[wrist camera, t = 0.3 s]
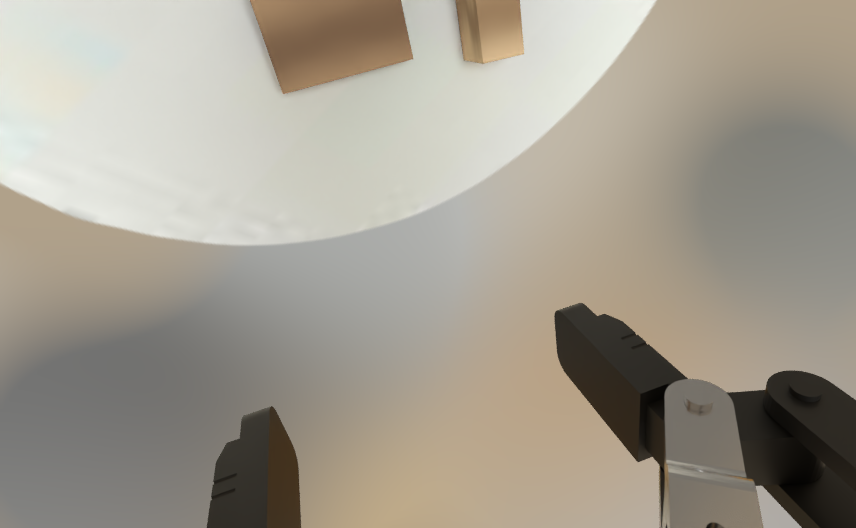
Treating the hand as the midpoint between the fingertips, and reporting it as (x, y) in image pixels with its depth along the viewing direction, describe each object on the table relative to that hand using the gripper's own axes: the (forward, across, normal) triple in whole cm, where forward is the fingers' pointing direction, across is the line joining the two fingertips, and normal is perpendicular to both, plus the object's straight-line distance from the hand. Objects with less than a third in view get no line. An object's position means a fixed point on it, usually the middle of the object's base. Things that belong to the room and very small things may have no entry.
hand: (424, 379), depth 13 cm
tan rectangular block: (+27, -13, -7) cm, 31 cm away
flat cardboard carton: (+27, -2, -8) cm, 29 cm away
